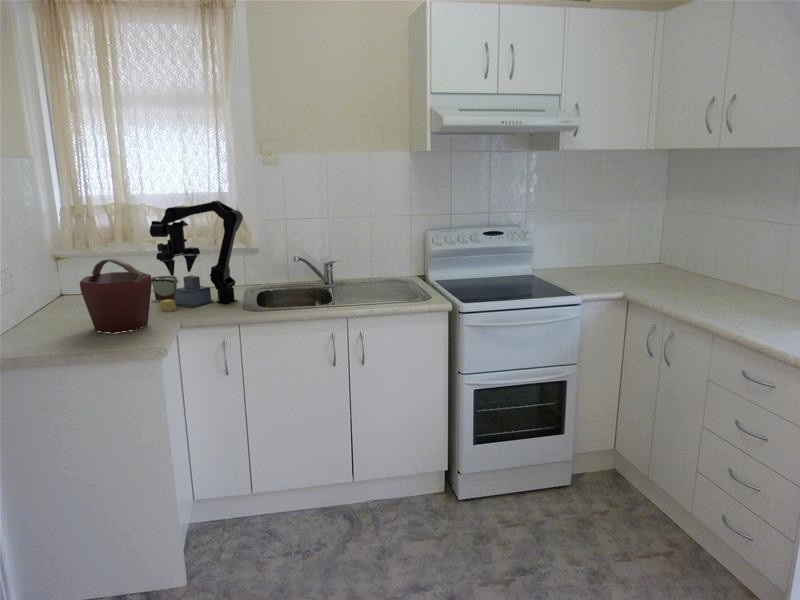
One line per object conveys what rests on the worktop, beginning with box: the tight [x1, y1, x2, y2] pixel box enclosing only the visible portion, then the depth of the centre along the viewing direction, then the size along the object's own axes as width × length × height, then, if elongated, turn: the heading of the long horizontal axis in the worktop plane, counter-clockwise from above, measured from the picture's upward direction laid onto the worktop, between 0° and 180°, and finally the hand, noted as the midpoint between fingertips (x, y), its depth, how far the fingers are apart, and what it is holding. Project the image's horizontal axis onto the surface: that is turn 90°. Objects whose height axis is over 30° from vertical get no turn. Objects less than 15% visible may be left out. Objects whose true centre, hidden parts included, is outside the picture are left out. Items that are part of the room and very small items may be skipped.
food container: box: [151, 275, 179, 302], centre depth 250 cm, size 12×6×10 cm, turn 74°
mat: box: [175, 299, 215, 309], centre depth 244 cm, size 12×12×1 cm
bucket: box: [79, 258, 153, 333], centre depth 205 cm, size 24×22×25 cm
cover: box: [175, 274, 212, 306], centre depth 242 cm, size 10×10×11 cm
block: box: [159, 299, 177, 313], centre depth 232 cm, size 4×4×4 cm
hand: (180, 273), depth 244 cm, fingers open, 9 cm apart
